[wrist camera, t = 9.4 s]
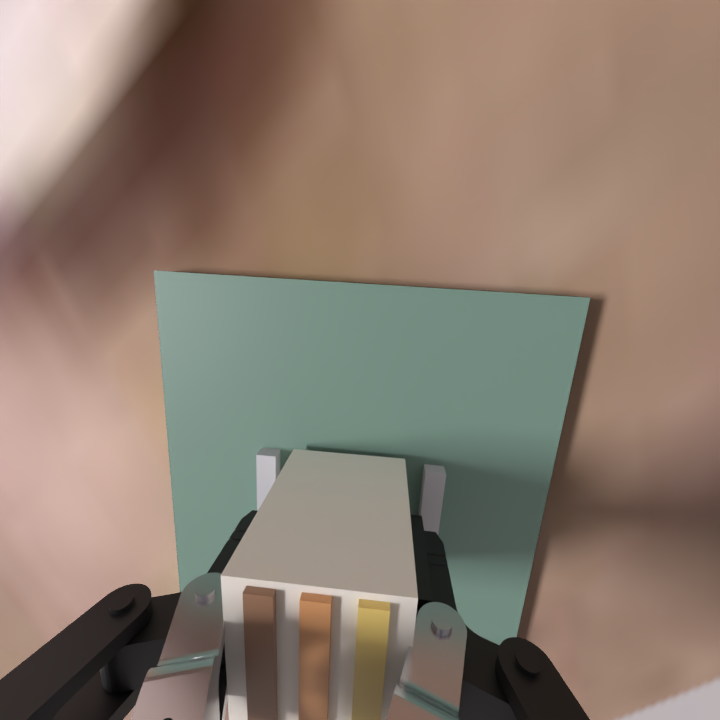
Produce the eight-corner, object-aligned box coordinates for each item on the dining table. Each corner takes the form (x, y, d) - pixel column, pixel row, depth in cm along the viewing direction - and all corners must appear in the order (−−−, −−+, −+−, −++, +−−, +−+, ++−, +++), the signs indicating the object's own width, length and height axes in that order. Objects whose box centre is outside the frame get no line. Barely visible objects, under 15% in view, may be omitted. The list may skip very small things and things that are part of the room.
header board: (170, 271, 14) (-13, 262, 7) (575, 296, 12) (756, 310, 6) (194, 616, 18) (90, 794, 12) (499, 660, 17) (564, 884, 10)
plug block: (293, 449, 13) (216, 583, 7) (404, 458, 13) (418, 607, 7) (293, 552, 15) (225, 741, 9) (396, 563, 14) (401, 768, 8)
